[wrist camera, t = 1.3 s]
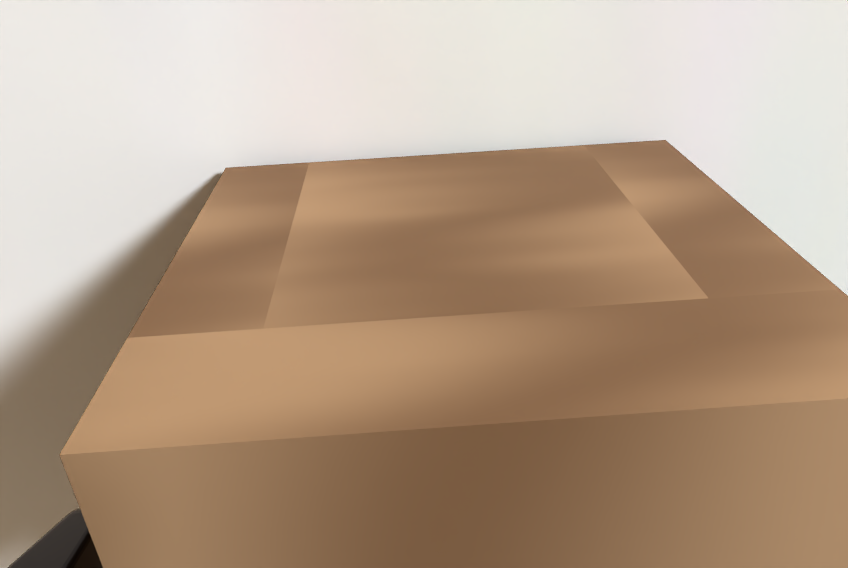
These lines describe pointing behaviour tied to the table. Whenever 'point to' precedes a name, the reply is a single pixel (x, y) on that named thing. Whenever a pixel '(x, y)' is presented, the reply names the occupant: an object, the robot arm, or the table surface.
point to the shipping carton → (475, 375)
